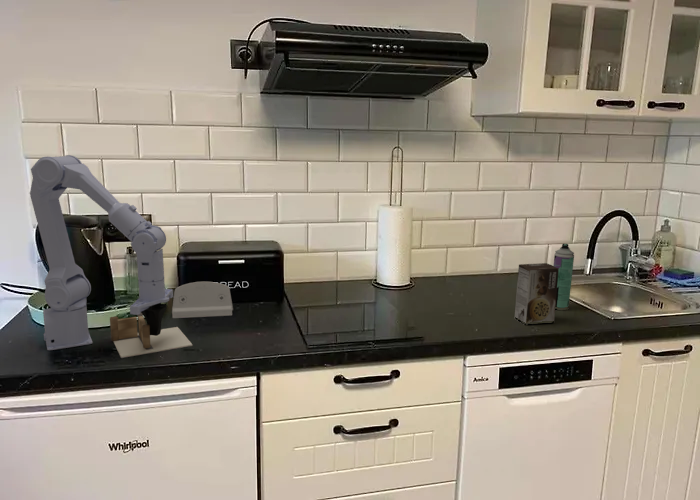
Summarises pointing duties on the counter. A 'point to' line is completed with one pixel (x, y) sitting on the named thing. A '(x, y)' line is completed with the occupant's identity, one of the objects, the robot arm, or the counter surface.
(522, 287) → the coffee box
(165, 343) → the card
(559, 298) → the spray can
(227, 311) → the hinge
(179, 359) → the counter surface
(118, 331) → the fence fixed
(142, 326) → the panel
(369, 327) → the counter surface
